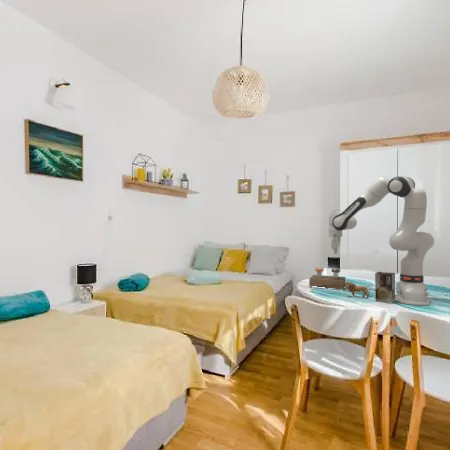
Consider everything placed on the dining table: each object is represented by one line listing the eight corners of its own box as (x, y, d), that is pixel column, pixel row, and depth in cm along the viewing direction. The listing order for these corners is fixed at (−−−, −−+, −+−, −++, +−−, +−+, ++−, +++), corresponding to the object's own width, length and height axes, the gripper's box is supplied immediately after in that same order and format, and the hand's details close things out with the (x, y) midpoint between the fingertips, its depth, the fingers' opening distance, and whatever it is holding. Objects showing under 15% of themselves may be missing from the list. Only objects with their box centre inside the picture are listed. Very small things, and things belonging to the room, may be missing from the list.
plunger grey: (339, 281, 213) (339, 269, 213) (331, 280, 216) (331, 269, 215) (340, 280, 218) (340, 268, 218) (332, 279, 221) (332, 268, 220)
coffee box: (395, 301, 178) (395, 272, 178) (392, 303, 174) (392, 274, 173) (378, 298, 184) (378, 271, 184) (374, 300, 180) (374, 272, 180)
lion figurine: (345, 297, 189) (345, 282, 189) (345, 295, 194) (345, 280, 194) (372, 299, 184) (371, 283, 184) (371, 296, 189) (371, 282, 189)
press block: (343, 290, 207) (343, 281, 207) (309, 287, 217) (309, 278, 217) (345, 285, 222) (345, 276, 222) (313, 283, 231) (313, 274, 231)
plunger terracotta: (322, 280, 218) (322, 268, 218) (314, 279, 220) (314, 268, 220) (324, 278, 223) (324, 267, 223) (315, 278, 225) (315, 267, 225)
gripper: (338, 234, 206) (339, 255, 206) (341, 233, 224) (341, 252, 224) (328, 234, 208) (328, 255, 209) (332, 233, 227) (332, 252, 227)
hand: (335, 254), depth 217 cm, fingers closed
